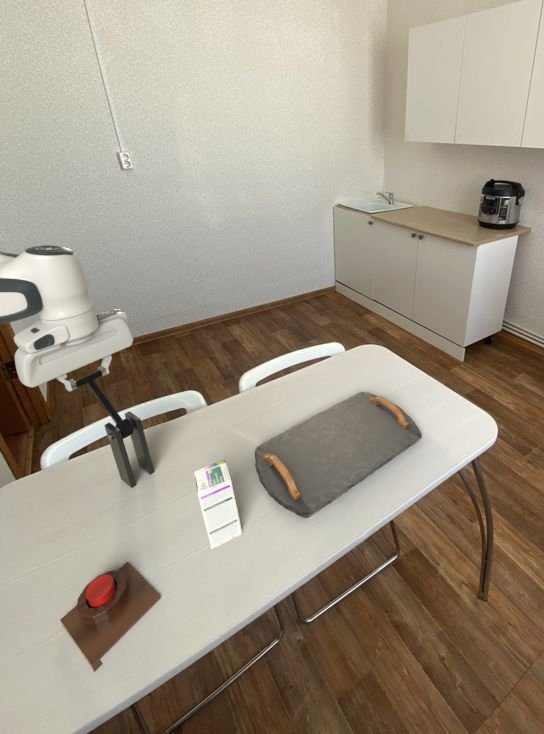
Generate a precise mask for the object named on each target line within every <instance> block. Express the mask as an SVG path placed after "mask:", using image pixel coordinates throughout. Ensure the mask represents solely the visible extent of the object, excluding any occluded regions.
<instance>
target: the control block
mask: <svg viewBox="0 0 544 734" xmlns="http://www.w3.org/2000/svg"><path fill="white" fill-rule="evenodd" d="M103 575H110V576H112V577H113V580H114V583H115V585H116V590H115V593H114V595H113V596H112V597H111V599H110V600H109V601H108V602H106V603H105V604H104V605H102V606H99V607H92V606H90V605H89V602H88V600H87V597H86V591H87V589H88V587H89V585H90V584H91V583H92V582H93V581H94V580H95V579H97V578H98V577H100V576H103ZM160 600H161V596H160V595H159V593H157V592H156V590H155V589H153V588H152V586H151V585H150V584H149V583H148V582H147V581H146V579H144V578H143V577H142V576H141V574H139V573H138V572H137V571H136V570H135V568H134V567H133V566H132V565H131V564H130V563H129V562H128V561H126V562H125V563H124V564H123V565H122V566H120V567H119V568H118V569H117V570H108V571H106V572H103V573H101V574H98V575H97V576H96V577H95V578H93V579H92V580H91V581H89V583H88V584H86V585H85V587H84V588H83V590H82V591H81V593H80V594H79V596H78V598H77V602H76V605H75V606H74V607H73V608H72V609H71V610H69V611H68V612H67V613H66V614H65V615H63V617H61V618H60V619H59V621H60V623H61V626H62V627H63V629H64V630H65V631H66V633H67V635H68V637H70V639H71V641H72V643H74V645H75V646H76V648H77V649H78V651H79V652H80V654H81V655H82V657H83V658H84V659H85V661H86V663H88V665H89V667H90V668H91V669H92V671H93V672H94V673H95V672H96V671H97V670H98V669H99V668H101V666H103V661H102V660H101V659H103V657H105V655H107V654H108V653H109V651H111V649H112V648H113V647H114V646H116V644H117V643H118V642H119V641H120V640H121V639H122V638H123V637H125V635H126V634H127V633H128V632H129V631H130V630H131V629H133V627H134V626H136V624H137V623H138V622H139V621H140V620H141V619H142V618H143V617H144V616H145V615H146V614H147V613H148V611H150V610H151V609H152V608H153V607H154V606H155V605H156V604H157V603H158V602H159V601H160Z"/></svg>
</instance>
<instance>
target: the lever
mask: <svg viewBox="0 0 544 734" xmlns="http://www.w3.org/2000/svg"><path fill="white" fill-rule="evenodd" d="M100 378H103V376H102V374H101V372H100V371H98V370H96V371H95V372H93V373H90V374H89V375H87V376H84V377H81V378H80V379H77V380H74V381H75V382H76V386H77V388H76V389H78V388H81V387H82V386H85V385H87V387H88V388H89V389H90V391H91V392H92V394H93V395H94V396H95V398H96V399H97V400H98V402H99V403H100V404H101V405H102V407H103V408H104V410H105V411H106V412H107V414H108V415H109V417H110V418H111V419H112V421H113V422H114V424H115V425H114V426H115V427H116V428H118V429H119V430H120V431H121V434H122V438H123V440H124V439H126V438H127V437H129V436H131V434H132V433H133V431H134V427H133V426H132V424H131V423H130V422H129V420H128V419H127V418H126V417H125V418H124V419H123V418H122V417H121V415H120V414H119V413H118V412H117V410H116V409H115V407H114V406H113V405H112V403H111V402H110V401H109V399H108V398H107V397H106V395H105V394H104V392H103V391H102V390H101V389H100V387H99V386H98V385H97V383H96V382H95V380H98V379H100Z"/></svg>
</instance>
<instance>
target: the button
mask: <svg viewBox="0 0 544 734" xmlns="http://www.w3.org/2000/svg"><path fill="white" fill-rule="evenodd" d="M94 579H95V578H94ZM94 579H93V580H94ZM115 590H116V585H115V583H114V580H113V577H112V576H110V575H103V576H100V577H98V578H97V579H95V580H94V581H93V582H92V583H91V584H90V585H89V587H88V589H87V591H86V597H87V600H88V602H89V605H90V606H92V607H99V606H102V605H104V604H105V603H106V602H108V601H109V600H110V599H111V597H112V596H113V595H114V593H115Z"/></svg>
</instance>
